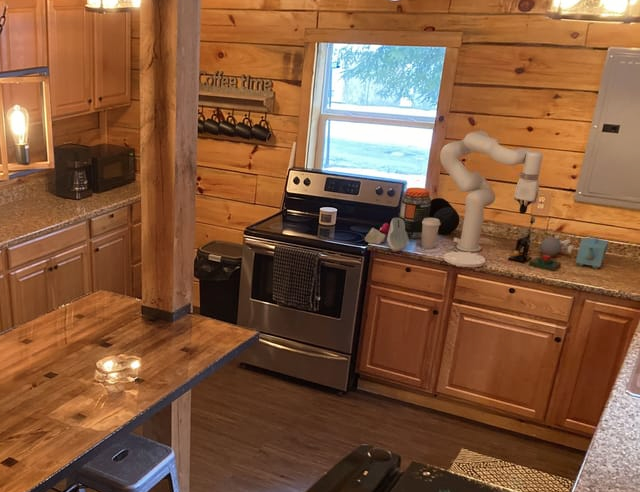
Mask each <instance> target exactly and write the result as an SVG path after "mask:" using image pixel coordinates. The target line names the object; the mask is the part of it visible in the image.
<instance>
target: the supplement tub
mask: <svg viewBox="0 0 640 492" xmlns="http://www.w3.org/2000/svg"><path fill="white" fill-rule="evenodd" d="M404 193H405V194H404V195H403V196H402V198H401V200H400V201H401V202H400V211H399V218H400V219H402V220H403V221H404V223H405V231H406V233H407V235H408V239H422V226H423V224H422V221H423V220H424V218H429V212H430V206H431V200H432V199H431V197H430V189H427V188H423V187H408V188H406V189H405V192H404Z"/></svg>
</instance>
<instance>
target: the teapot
mask: <svg viewBox="0 0 640 492" xmlns="http://www.w3.org/2000/svg"><path fill="white" fill-rule="evenodd" d="M609 242H610V241H609V240H604V239H600V238H598V237H584V238H583V239H582V241H581V242H580V243H579V246H578V251H577V255H576V259H575V263H576V264H577V266H579V267H584V266H585V265H586V266H591V267H592V269H596V270H597V269H599V268H601V266H602V264H603V263H604V261H605V258H606V255H607V252H608V251H607V250H608V248H609V247H608V246H609V244H610V243H609Z"/></svg>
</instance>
